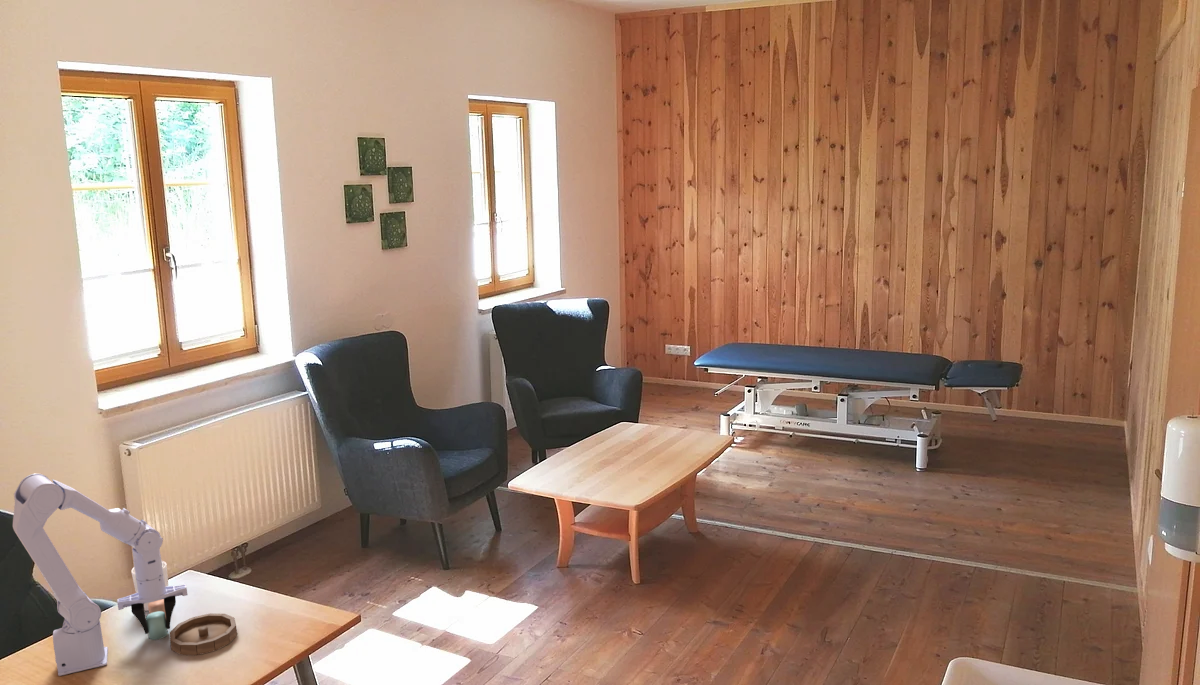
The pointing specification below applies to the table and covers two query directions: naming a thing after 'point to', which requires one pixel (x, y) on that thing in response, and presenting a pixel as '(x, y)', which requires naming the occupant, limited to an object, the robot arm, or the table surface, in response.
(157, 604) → the peach rounded cylinder
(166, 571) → the white cup
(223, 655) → the table surface
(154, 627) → the pale teal rounded piece
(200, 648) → the tray
